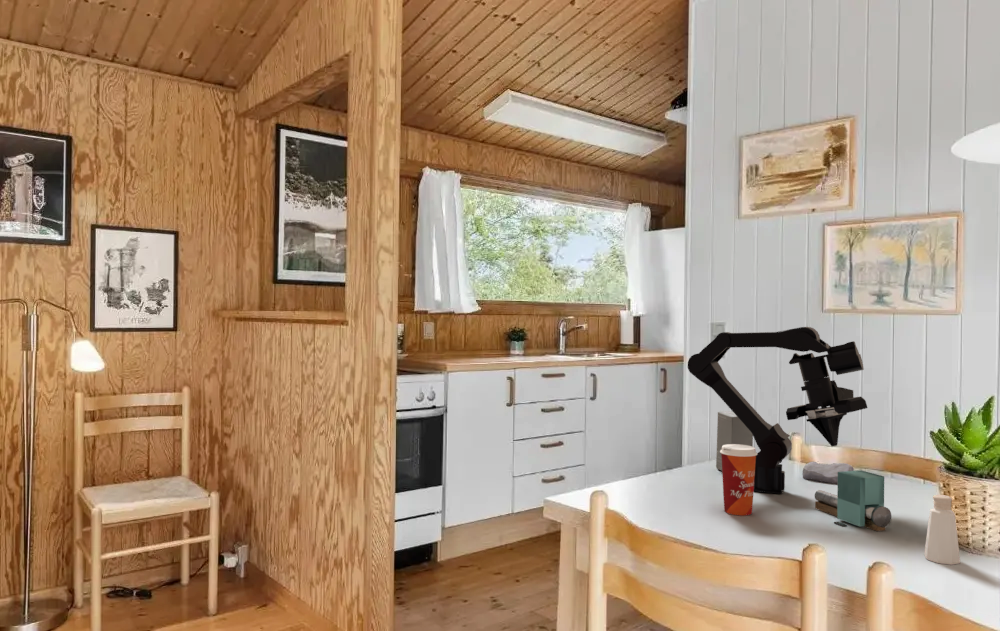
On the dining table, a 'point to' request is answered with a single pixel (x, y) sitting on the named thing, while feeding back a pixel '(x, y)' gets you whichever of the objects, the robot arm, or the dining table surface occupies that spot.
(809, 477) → the stone block
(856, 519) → the teal notched block
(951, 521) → the pepper shaker
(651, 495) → the dining table surface
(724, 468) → the paper cup
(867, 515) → the pipe rig
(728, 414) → the skincare box
